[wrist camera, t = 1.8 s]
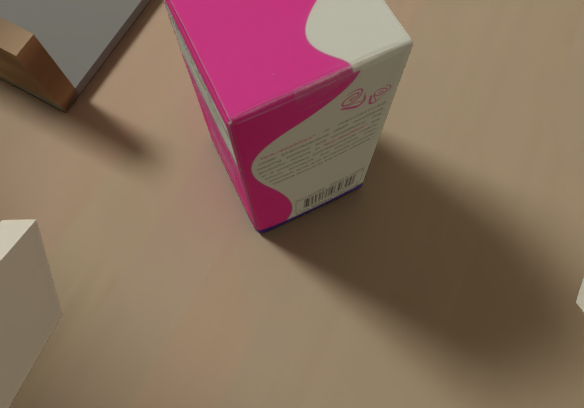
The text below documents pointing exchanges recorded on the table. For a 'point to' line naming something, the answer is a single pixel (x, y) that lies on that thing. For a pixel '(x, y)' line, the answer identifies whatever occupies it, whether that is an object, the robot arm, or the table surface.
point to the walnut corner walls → (32, 66)
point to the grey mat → (74, 32)
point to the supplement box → (292, 93)
